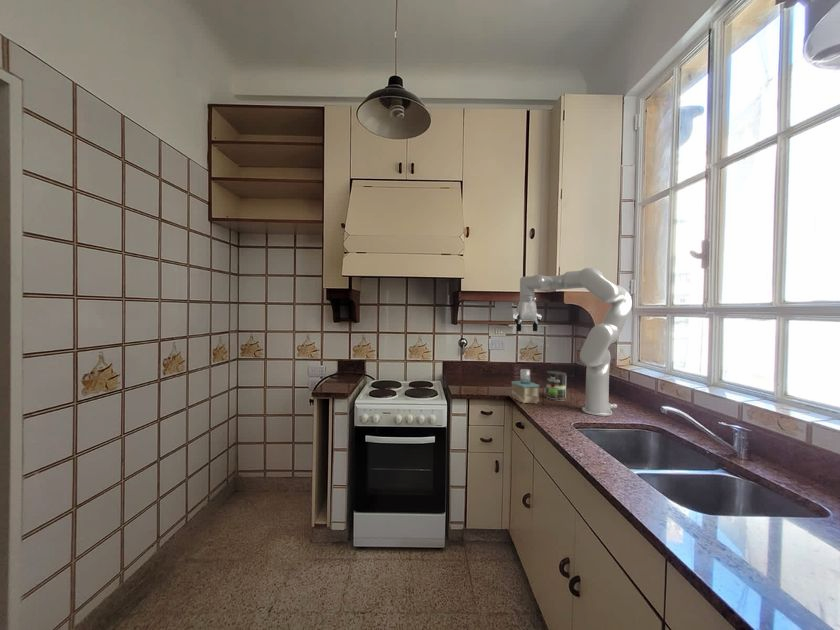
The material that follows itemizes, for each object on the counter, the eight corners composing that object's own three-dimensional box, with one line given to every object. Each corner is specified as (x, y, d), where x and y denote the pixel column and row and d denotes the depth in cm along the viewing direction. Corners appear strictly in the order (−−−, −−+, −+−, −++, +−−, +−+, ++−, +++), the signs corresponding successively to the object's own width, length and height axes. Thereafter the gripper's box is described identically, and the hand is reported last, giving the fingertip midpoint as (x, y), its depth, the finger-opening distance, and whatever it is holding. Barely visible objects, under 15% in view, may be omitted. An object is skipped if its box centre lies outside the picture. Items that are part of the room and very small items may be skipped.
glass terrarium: (562, 401, 179) (562, 374, 179) (542, 398, 186) (543, 372, 186) (569, 398, 187) (569, 372, 187) (550, 395, 194) (550, 370, 194)
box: (526, 397, 187) (526, 383, 187) (538, 403, 175) (539, 387, 175) (511, 398, 185) (511, 383, 185) (523, 404, 173) (523, 388, 173)
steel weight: (527, 382, 183) (527, 368, 183) (532, 383, 178) (532, 370, 178) (518, 382, 182) (518, 369, 182) (523, 384, 177) (523, 370, 177)
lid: (526, 382, 187) (526, 380, 187) (539, 387, 175) (539, 385, 175) (511, 383, 185) (511, 381, 185) (523, 387, 173) (523, 385, 173)
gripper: (537, 300, 190) (537, 330, 190) (509, 299, 186) (509, 331, 186) (545, 299, 183) (545, 331, 183) (516, 298, 179) (516, 331, 178)
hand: (527, 331), depth 184 cm, fingers open, 9 cm apart
